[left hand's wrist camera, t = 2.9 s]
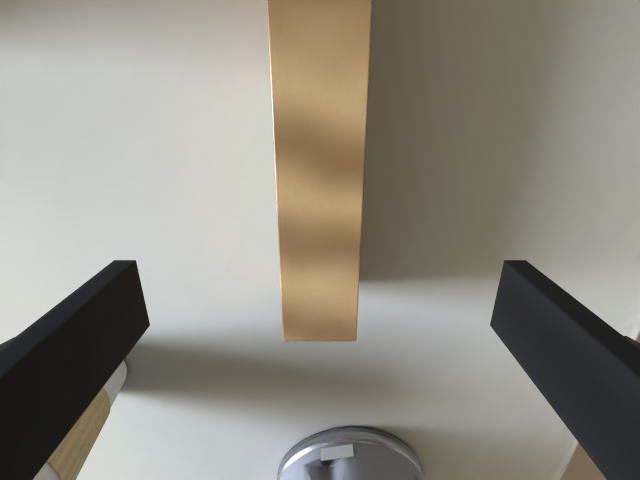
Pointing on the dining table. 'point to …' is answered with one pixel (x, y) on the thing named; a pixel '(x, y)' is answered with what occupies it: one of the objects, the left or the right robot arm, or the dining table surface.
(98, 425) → the coffee cup
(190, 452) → the dining table surface
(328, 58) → the bar
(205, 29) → the dining table surface
